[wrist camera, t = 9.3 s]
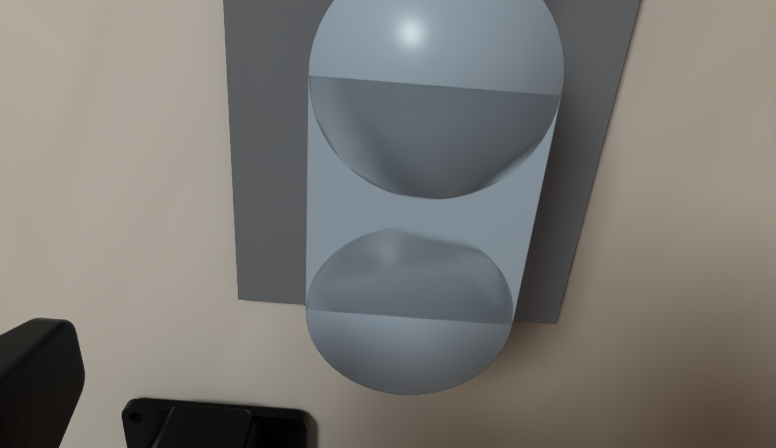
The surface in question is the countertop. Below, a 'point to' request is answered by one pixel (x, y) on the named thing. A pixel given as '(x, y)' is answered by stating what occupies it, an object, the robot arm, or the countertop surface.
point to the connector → (424, 182)
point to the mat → (290, 142)
